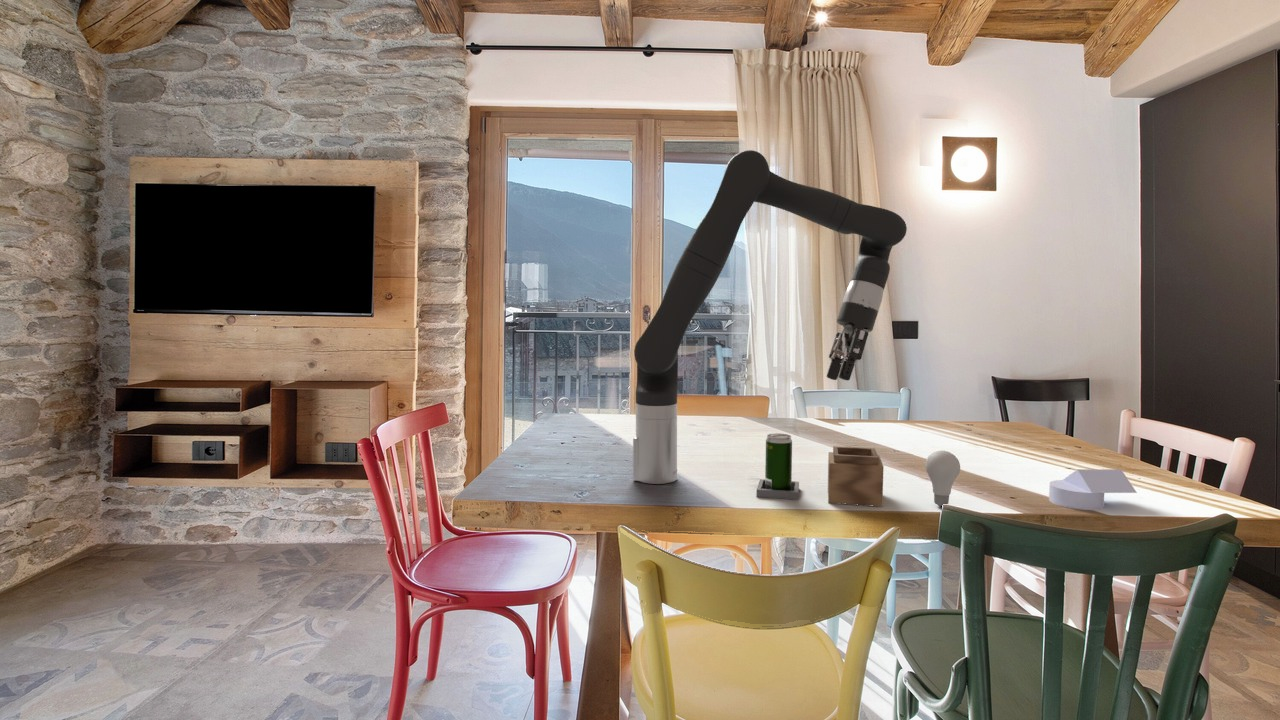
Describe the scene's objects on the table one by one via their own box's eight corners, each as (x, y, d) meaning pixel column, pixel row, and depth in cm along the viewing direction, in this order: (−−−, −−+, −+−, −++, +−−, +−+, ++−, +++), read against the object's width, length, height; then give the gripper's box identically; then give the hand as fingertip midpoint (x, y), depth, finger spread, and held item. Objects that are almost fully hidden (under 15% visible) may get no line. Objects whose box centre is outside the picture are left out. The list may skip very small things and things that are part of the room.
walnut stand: (828, 503, 131) (829, 455, 130) (827, 489, 140) (828, 445, 140) (882, 507, 128) (883, 458, 127) (877, 492, 138) (879, 447, 137)
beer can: (778, 497, 134) (779, 439, 133) (759, 491, 139) (760, 435, 138) (796, 493, 137) (797, 436, 136) (778, 487, 142) (778, 432, 141)
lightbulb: (956, 503, 130) (958, 448, 129) (960, 513, 124) (962, 455, 124) (922, 500, 132) (924, 446, 131) (925, 510, 126) (927, 453, 125)
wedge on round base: (1103, 496, 135) (1039, 496, 135) (1105, 463, 135) (1040, 463, 135) (1135, 510, 126) (1067, 510, 126) (1138, 475, 126) (1069, 475, 126)
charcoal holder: (756, 496, 135) (756, 489, 135) (759, 485, 143) (759, 479, 143) (797, 499, 133) (798, 492, 133) (798, 488, 141) (799, 481, 141)
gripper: (833, 304, 147) (811, 373, 147) (854, 296, 133) (830, 373, 132) (865, 314, 147) (843, 384, 147) (890, 308, 133) (865, 385, 132)
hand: (837, 379), depth 140 cm, fingers open, 8 cm apart
